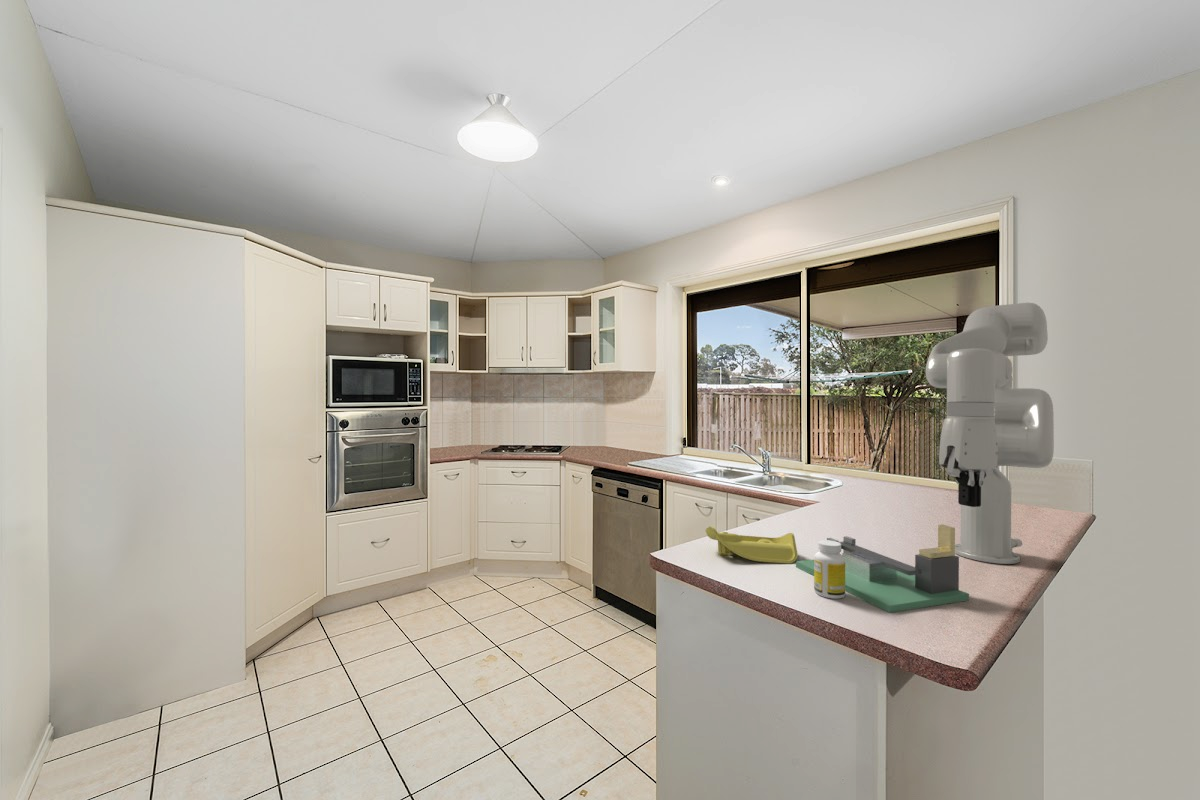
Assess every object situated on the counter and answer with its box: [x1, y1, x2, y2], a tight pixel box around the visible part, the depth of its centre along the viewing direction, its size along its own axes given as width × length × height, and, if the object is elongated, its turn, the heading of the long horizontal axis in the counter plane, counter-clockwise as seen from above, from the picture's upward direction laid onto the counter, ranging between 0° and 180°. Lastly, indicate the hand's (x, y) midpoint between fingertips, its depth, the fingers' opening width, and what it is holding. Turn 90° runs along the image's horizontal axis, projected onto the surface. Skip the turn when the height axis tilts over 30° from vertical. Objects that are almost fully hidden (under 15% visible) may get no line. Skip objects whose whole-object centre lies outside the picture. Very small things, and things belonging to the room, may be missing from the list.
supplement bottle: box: [813, 539, 846, 600], centre depth 92 cm, size 5×5×10 cm
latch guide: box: [914, 553, 960, 594], centre depth 92 cm, size 7×3×6 cm, turn 107°
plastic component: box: [705, 526, 798, 565], centre depth 115 cm, size 20×7×10 cm
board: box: [795, 535, 970, 613], centre depth 98 cm, size 19×24×6 cm
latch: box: [918, 524, 956, 559], centre depth 92 cm, size 6×2×5 cm, turn 107°
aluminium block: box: [841, 552, 897, 581], centre depth 100 cm, size 7×7×4 cm
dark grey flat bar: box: [839, 541, 921, 575], centre depth 99 cm, size 3×18×1 cm, turn 17°
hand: (969, 505), depth 94 cm, fingers closed
